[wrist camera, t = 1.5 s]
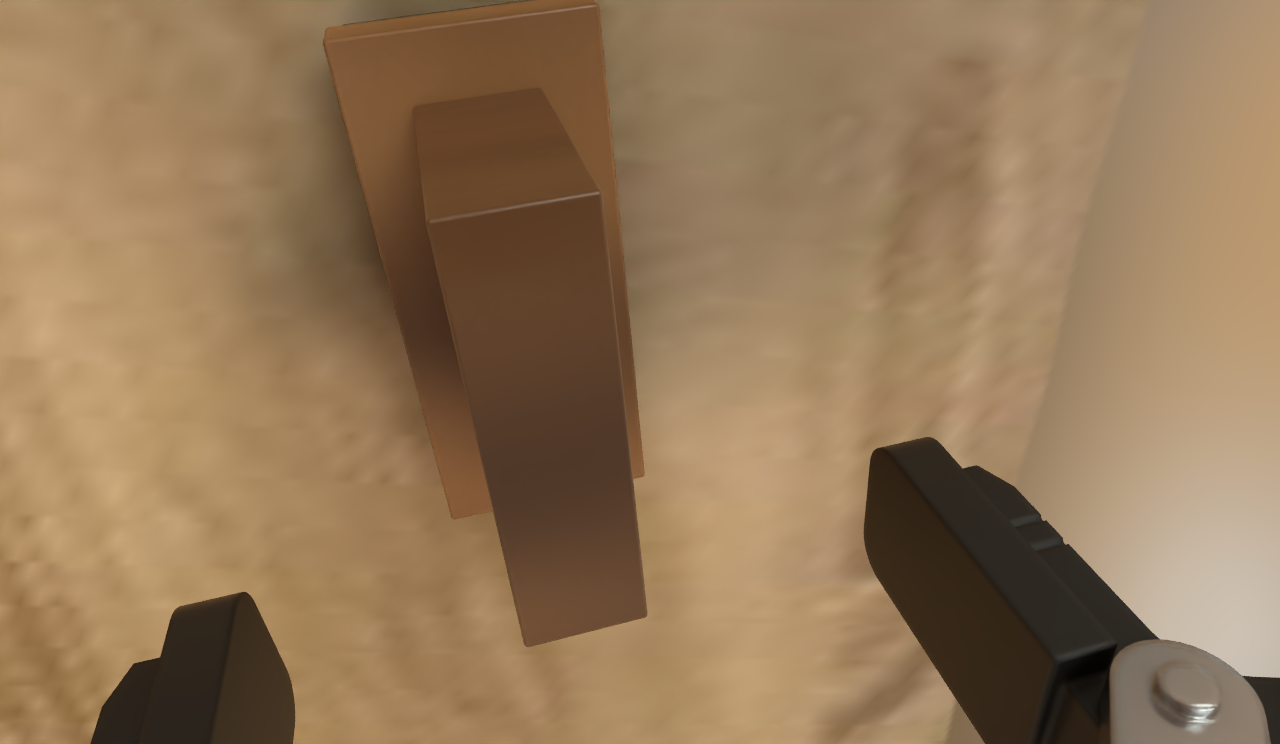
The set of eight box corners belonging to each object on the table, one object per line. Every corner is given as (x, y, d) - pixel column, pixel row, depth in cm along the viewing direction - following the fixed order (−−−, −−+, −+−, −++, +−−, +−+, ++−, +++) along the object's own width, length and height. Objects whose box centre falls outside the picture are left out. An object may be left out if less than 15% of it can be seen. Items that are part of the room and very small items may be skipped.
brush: (328, 13, 15) (296, 138, 10) (575, -19, 16) (687, 79, 10) (445, 461, 21) (471, 709, 15) (623, 423, 22) (712, 646, 16)
